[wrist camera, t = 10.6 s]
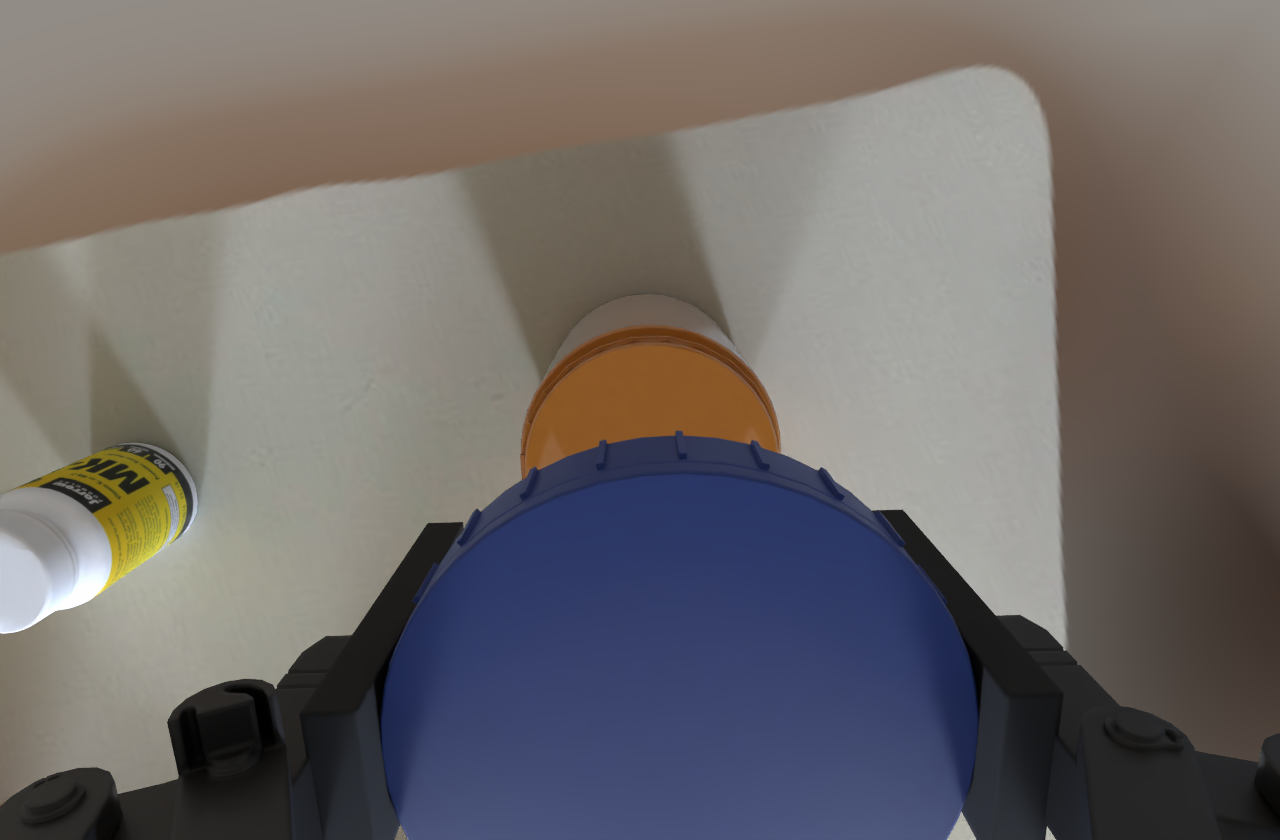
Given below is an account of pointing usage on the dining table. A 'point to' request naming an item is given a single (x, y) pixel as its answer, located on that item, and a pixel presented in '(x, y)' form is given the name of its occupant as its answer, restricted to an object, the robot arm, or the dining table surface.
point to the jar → (644, 383)
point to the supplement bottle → (88, 528)
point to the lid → (679, 661)
